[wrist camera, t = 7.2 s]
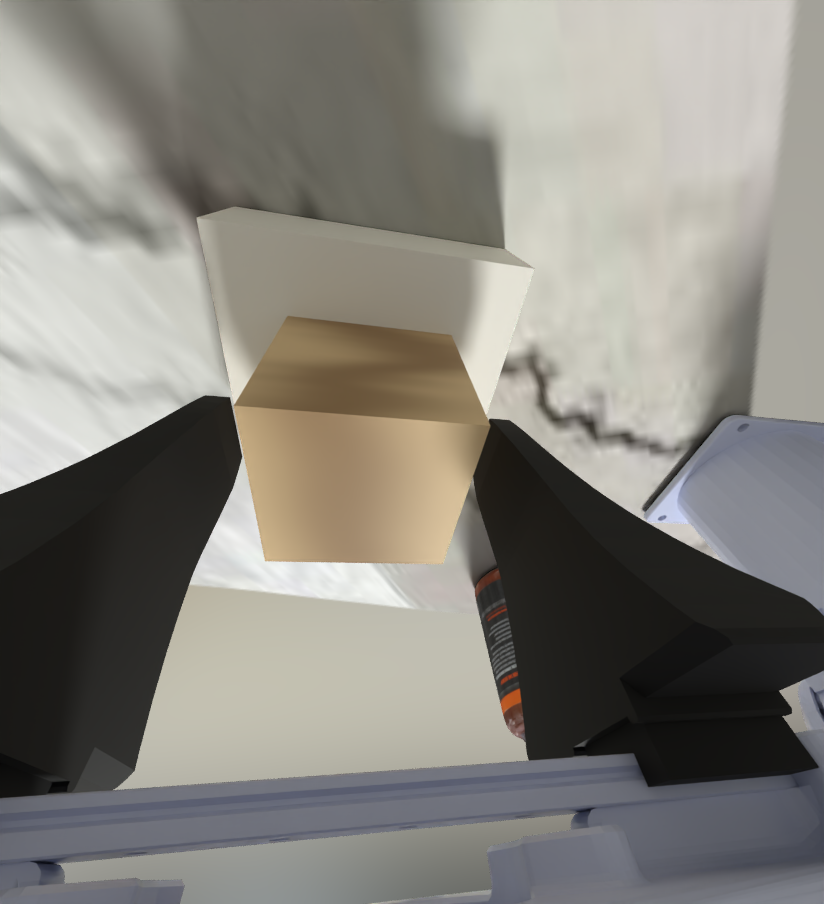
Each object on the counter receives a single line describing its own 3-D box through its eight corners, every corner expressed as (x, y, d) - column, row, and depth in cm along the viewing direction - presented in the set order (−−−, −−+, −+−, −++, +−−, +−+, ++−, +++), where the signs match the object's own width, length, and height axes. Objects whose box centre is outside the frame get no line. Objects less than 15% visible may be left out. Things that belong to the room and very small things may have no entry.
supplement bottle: (467, 602, 28) (507, 796, 20) (479, 560, 25) (535, 776, 16) (538, 598, 29) (607, 786, 20) (561, 556, 25) (657, 764, 16)
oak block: (451, 334, 11) (490, 425, 7) (425, 455, 14) (442, 564, 10) (287, 315, 10) (233, 405, 6) (297, 447, 13) (265, 560, 10)
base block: (505, 249, 12) (534, 268, 10) (451, 447, 18) (461, 489, 16) (234, 206, 11) (196, 218, 9) (267, 435, 17) (249, 479, 14)
